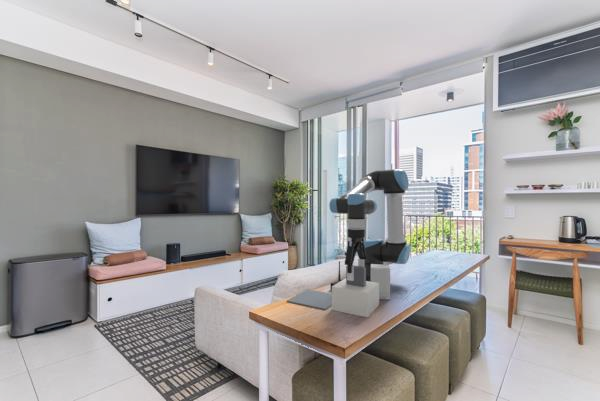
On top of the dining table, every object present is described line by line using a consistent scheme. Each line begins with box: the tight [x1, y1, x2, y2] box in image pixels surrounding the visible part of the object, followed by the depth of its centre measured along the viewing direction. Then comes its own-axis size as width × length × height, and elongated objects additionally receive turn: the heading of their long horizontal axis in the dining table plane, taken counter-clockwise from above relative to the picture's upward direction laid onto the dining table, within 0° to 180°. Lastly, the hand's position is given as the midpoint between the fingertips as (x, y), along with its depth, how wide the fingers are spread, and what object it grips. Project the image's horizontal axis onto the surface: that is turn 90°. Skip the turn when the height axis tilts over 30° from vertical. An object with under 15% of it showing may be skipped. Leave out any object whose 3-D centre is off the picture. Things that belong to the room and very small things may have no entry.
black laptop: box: [330, 261, 346, 291], centre depth 155 cm, size 20×14×17 cm
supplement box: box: [370, 264, 391, 301], centre depth 144 cm, size 9×9×15 cm
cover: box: [331, 265, 380, 318], centre depth 129 cm, size 16×16×18 cm
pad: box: [286, 288, 332, 311], centre depth 139 cm, size 20×20×1 cm
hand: (356, 276), depth 129 cm, fingers open, 13 cm apart
